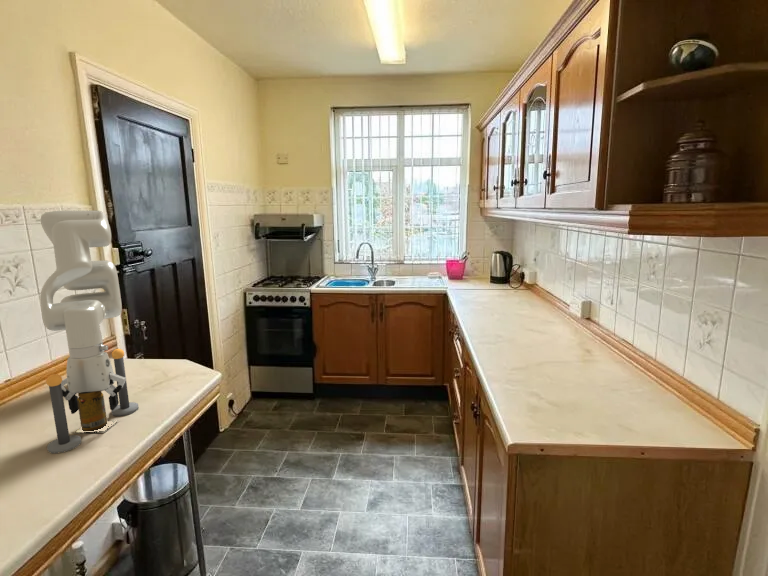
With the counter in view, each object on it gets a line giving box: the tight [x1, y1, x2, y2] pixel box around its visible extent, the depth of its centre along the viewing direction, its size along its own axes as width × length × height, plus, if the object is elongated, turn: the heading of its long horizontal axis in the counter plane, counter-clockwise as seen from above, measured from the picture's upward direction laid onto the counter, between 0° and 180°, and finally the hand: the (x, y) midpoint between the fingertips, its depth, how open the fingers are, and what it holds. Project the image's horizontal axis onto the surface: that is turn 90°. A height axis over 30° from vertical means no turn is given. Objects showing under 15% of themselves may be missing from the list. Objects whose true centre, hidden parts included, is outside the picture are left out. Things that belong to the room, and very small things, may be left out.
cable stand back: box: [110, 348, 139, 417], centre depth 128 cm, size 7×7×20 cm
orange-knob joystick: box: [45, 373, 82, 454], centre depth 109 cm, size 7×7×20 cm
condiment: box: [73, 391, 121, 434], centre depth 119 cm, size 7×8×12 cm
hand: (94, 409), depth 119 cm, fingers open, 9 cm apart
